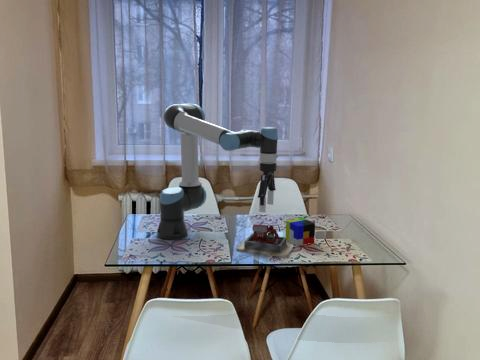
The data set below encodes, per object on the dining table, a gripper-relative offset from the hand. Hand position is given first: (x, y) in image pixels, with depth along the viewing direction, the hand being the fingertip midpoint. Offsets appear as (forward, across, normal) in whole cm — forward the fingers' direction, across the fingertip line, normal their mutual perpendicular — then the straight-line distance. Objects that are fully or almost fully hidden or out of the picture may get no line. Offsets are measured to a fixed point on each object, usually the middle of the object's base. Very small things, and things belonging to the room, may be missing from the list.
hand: (266, 208), depth 203 cm
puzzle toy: (+20, +15, -13) cm, 28 cm away
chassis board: (+20, 0, 0) cm, 20 cm away
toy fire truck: (+19, 0, 0) cm, 19 cm away
